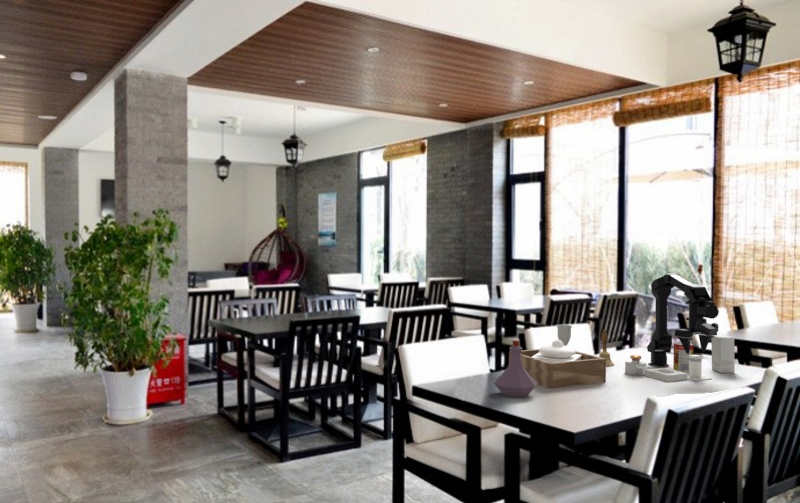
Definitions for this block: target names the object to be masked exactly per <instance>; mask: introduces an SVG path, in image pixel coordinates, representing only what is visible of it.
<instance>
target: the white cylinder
mask: <svg viewBox="0 0 800 503" xmlns="http://www.w3.org/2000/svg"><path fill="white" fill-rule="evenodd" d="M702 358H703V357H702V355H699V354H693V355H689V372H688V375H689V377H691V378H701V376H702V362H703V360H702Z"/></svg>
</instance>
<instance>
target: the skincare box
mask: <svg viewBox="0 0 800 503" xmlns="http://www.w3.org/2000/svg"><path fill="white" fill-rule="evenodd" d="M714 336H715V337H713V338H712V339H710V342H711V369H712V370H713V371H716V372H719V373H722V374H726V373H727V374H733V373H735V369H736V368H735V337H733V336H729V335H725V334H724V335H723V334H719V335H718V334H717V335H714Z"/></svg>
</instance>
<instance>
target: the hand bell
mask: <svg viewBox="0 0 800 503" xmlns="http://www.w3.org/2000/svg"><path fill="white" fill-rule="evenodd" d="M608 339H609V337H608V333H607V330H606V329H603V331H602V332H601V342H602V351H601V352H599V356H598V357H601V358H605V359H606V367H613V366H615V363H614V362H613V361H612V358H611V355H610V354H611V353H610V352H609V351H607V350H608V349H607V343H608Z"/></svg>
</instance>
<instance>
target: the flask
mask: <svg viewBox="0 0 800 503" xmlns="http://www.w3.org/2000/svg"><path fill="white" fill-rule="evenodd" d="M508 349H509V352H510V351H511V357H510V361H509V360H508V365H507V367H506V368H505V369H504V371H503V372H502V373H501V374H500V375H499V376H498V377H497V378H496V379H495V381H494V382H493V384H494V386H495V387H496V388H497V390H499V392H500V393H501V394H502V395H503V396H505V397H508V398H526V397H528V396H529V395H530V394H531V392H532V391H533V390H534V389H535V388H536V386H537V385H538V384H537V382H536V381H535V380H534V379H533V378H532V377H531V376H530V375H529V374H528V372H527V371H526V370H525V368H524V367H523V363H522V359H521V351H523V347H522V346H520V340H517V339H515V340H512V345H511V346H510V347H509V348H508Z"/></svg>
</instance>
